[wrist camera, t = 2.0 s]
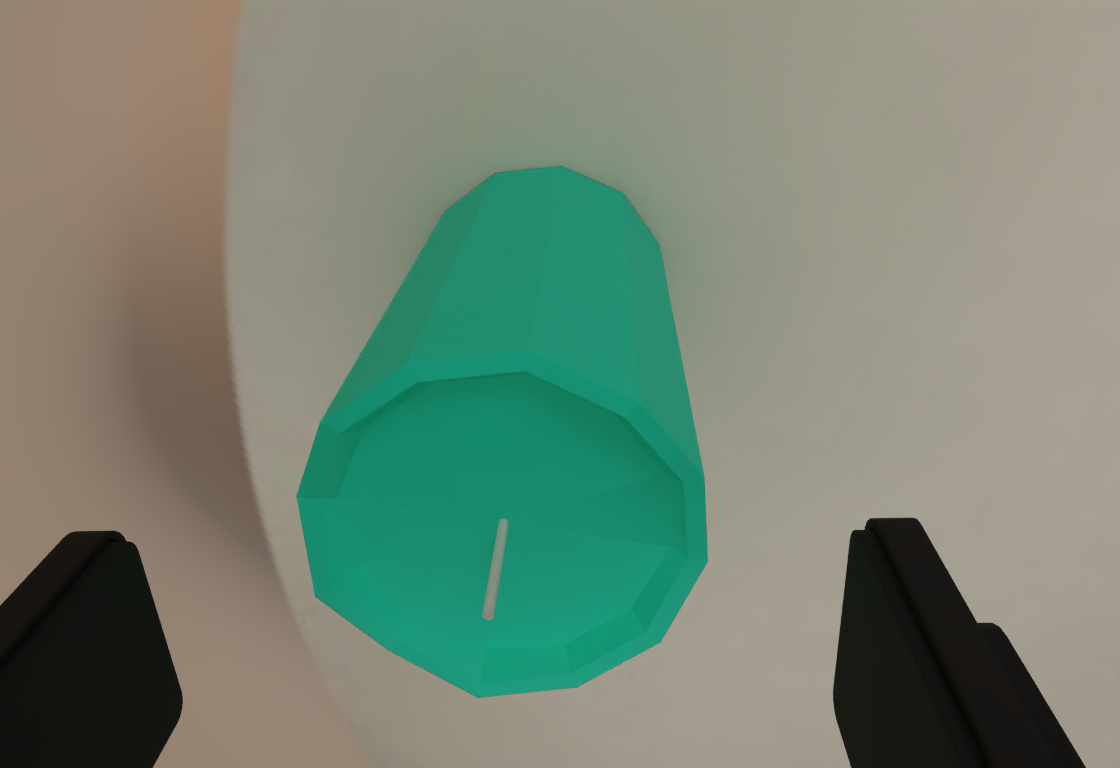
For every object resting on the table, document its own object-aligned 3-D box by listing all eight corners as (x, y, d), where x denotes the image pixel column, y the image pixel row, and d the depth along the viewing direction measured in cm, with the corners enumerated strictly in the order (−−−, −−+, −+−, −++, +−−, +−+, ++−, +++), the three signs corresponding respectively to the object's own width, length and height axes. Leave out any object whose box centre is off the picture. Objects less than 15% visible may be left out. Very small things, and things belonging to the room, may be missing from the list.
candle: (521, 110, 20) (427, 299, 9) (716, 270, 21) (832, 594, 11) (376, 302, 22) (165, 635, 11) (562, 435, 24) (531, 841, 13)
